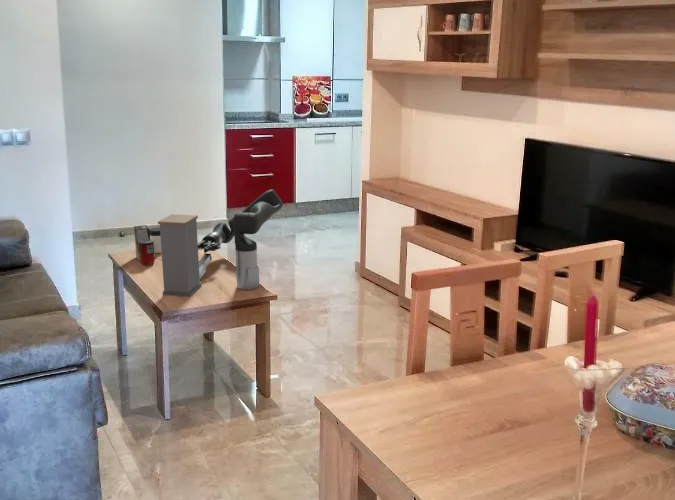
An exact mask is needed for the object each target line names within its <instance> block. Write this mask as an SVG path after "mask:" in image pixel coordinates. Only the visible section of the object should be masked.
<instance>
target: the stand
mask: <svg viewBox="0 0 675 500" xmlns="http://www.w3.org/2000/svg"><path fill="white" fill-rule="evenodd" d="M198 218H199V215H195V214H194V215H191V214H169V215H168V216H165V217H164V218H162V219H160V220H158V221H157V224H158V225H159V228H160V236H161V251H162V254H161V263H162V278H163V290H162V295H163V296H174V297H191V296H192V295H193V294H194V293H196V292H197V291H198V290H199V289H200V288H201V287H202V283H201V279H200V278H199V261H200V260H199V250H198V243H199V241H198V228H197V224H198V223H197V219H198Z"/></svg>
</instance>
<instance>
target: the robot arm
mask: <svg viewBox="0 0 675 500" xmlns="http://www.w3.org/2000/svg"><path fill="white" fill-rule="evenodd" d="M283 204H284V203H283V201H282V199H281V198H280V196H278V194H277V192H276V191H275V189H271V188H270V189H268V190H266V191H265V192H263V193H262V194H260V195H259V196H258V197H257V198H256V199H255V200H253V201H252V202H251V203H250V204H248V206H247V207H245V208H244V210H243V209H242V211H241V212H236V213H235V214H234V216H233V218H231V219H230V220H229V221H228V225H227V224H226V223H225V222H218V223H217V224H215V226H214V227H213V230H212V232H210V233H208V234H207V235H205V236H203V238H202V239H201V241H198V251H203V254H204V253H208V252H215V251H218V250H220V249H221V244H229V243H230V242H231V241H233V238H234V246H235V248H234V249H235V272H236V276H235V277H236V288H237V289H239V290H245V291H246V290H247V291H251V290H254V289H257V288H260V267H259V266H258V243H257V242H256V241H255V240H253V239H251V238H249V237H247V236H246V235H255V234H257V233H258V232H259V231H260V229H261V228H262V226H263V225H264V224H265V223H266V222H267V221H268V220H269V219H270V218H271V217H273V216H274V215H275V214H276V213H278V212H279V211H280V210H281V209H282V208H283ZM228 226H229V227H228Z"/></svg>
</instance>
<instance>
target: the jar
mask: <svg viewBox="0 0 675 500" xmlns="http://www.w3.org/2000/svg"><path fill="white" fill-rule="evenodd" d="M149 229H150V239H151V240H153V241H154V253H162V251H161V236H160V226H159V227H151V228H149Z"/></svg>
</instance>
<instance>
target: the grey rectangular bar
mask: <svg viewBox="0 0 675 500" xmlns="http://www.w3.org/2000/svg"><path fill="white" fill-rule="evenodd" d="M212 257H213V256H212V253H208V252H206V253H204V252H203V254H202V257H201V258H200V260H199V278H200V280H201V279H202V277H203V276H204V274H205V273H206V271H207V270H206V268H207V267H208V265H209V264H210V262H211V261H212Z"/></svg>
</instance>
